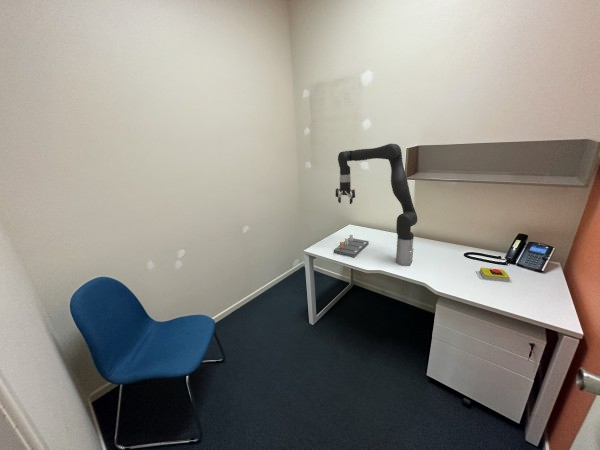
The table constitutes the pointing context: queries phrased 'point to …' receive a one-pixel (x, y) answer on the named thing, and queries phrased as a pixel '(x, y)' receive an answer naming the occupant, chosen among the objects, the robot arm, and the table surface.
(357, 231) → the table surface
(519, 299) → the table surface
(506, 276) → the emergency button
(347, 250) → the panel
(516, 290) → the table surface
